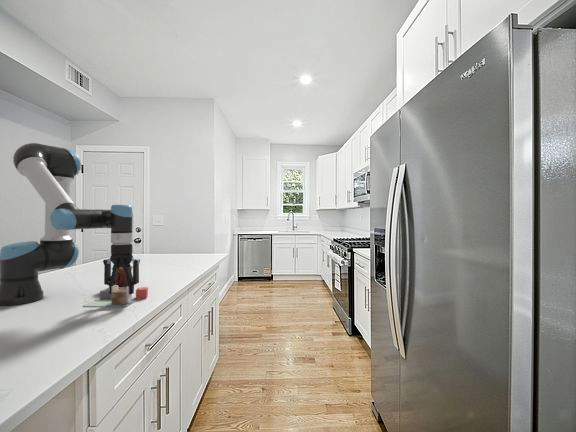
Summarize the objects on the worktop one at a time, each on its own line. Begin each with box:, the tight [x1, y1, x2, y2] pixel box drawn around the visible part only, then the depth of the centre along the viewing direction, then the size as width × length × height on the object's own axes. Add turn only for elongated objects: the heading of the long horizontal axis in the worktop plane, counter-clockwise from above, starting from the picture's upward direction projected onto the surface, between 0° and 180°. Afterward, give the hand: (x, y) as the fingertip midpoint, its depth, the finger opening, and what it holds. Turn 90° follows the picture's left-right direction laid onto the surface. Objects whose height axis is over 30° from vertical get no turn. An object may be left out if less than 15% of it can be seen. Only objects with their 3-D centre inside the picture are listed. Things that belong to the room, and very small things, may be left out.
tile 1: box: [82, 299, 112, 308], centre depth 120 cm, size 8×8×1 cm
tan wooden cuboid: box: [112, 289, 127, 305], centre depth 120 cm, size 5×5×5 cm
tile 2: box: [105, 299, 137, 308], centre depth 120 cm, size 8×8×1 cm
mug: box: [111, 265, 133, 287], centre depth 142 cm, size 12×9×10 cm
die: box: [135, 286, 149, 300], centre depth 129 cm, size 4×4×4 cm
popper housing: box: [99, 287, 126, 300], centre depth 129 cm, size 7×7×4 cm
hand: (121, 302), depth 120 cm, fingers closed on tan wooden cuboid, 5 cm apart
